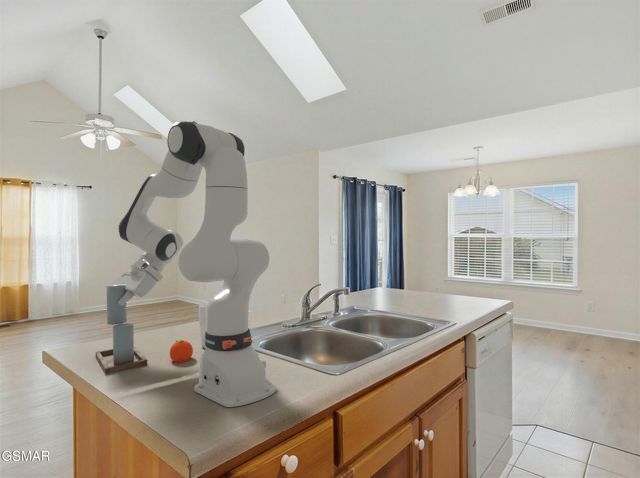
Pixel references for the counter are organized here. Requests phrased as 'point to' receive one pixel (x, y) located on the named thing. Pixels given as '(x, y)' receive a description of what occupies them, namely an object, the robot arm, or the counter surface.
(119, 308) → the post
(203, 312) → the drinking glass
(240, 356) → the robot arm
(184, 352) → the clementine
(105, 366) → the tray
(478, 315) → the counter surface
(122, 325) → the grey tall cylinder
